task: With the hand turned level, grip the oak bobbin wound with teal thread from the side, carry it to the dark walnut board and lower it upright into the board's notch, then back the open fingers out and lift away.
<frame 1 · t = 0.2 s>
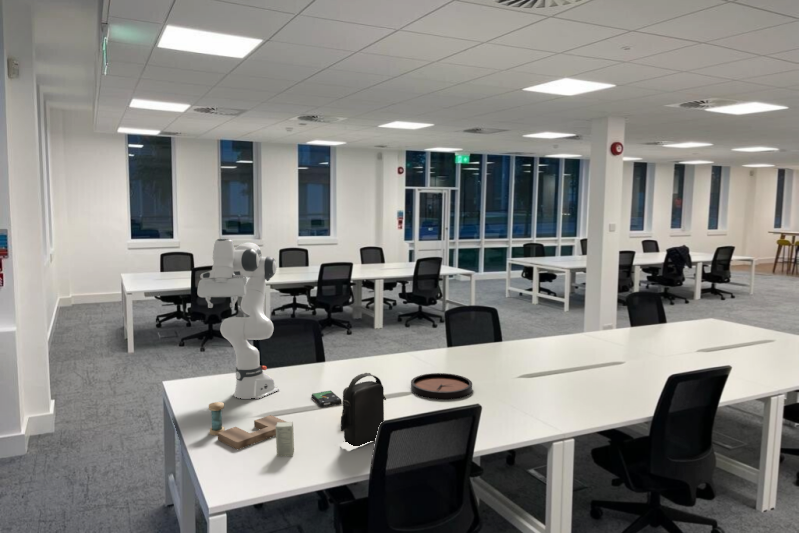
hand: (221, 307, 248), 51 cm above the table, tool tilted 20°, fingers open, 8 cm apart
disk drive: (326, 402, 284), on the table
shoulder bag: (362, 441, 238), on the table
skincare box: (285, 454, 225), on the table
notched board: (255, 434, 243), on the table
bobbin: (217, 432, 245), on the table
wall clock: (441, 390, 301), on the table
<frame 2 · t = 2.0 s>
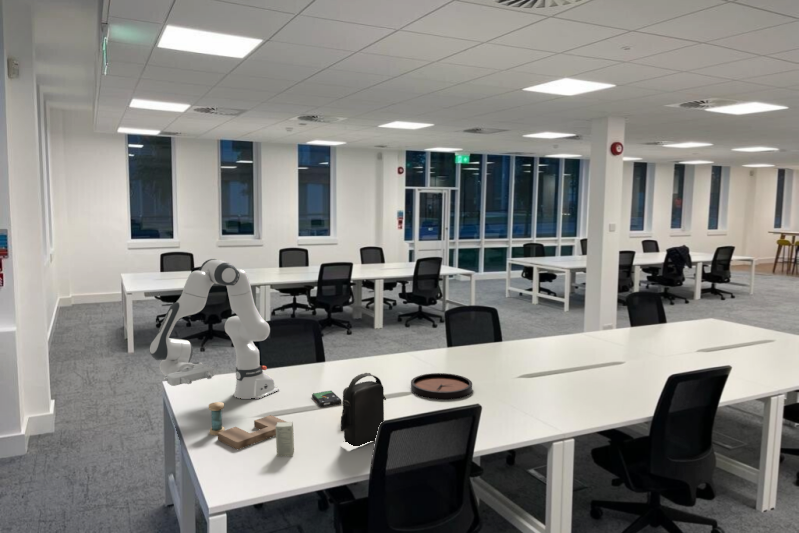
hand: (200, 379, 251), 20 cm above the table, tool horizontal, fingers open, 8 cm apart
nothing on the table moved.
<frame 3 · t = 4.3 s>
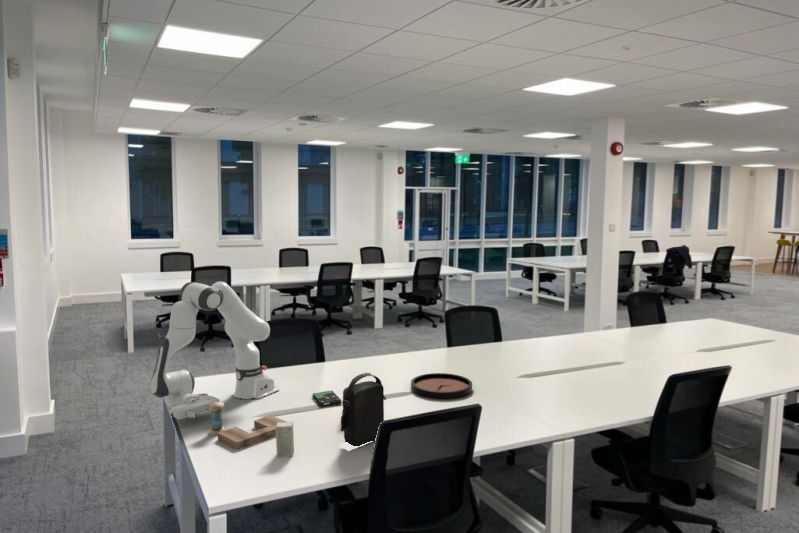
hand: (206, 412, 250), 6 cm above the table, tool horizontal, fingers open, 8 cm apart
nothing on the table moved.
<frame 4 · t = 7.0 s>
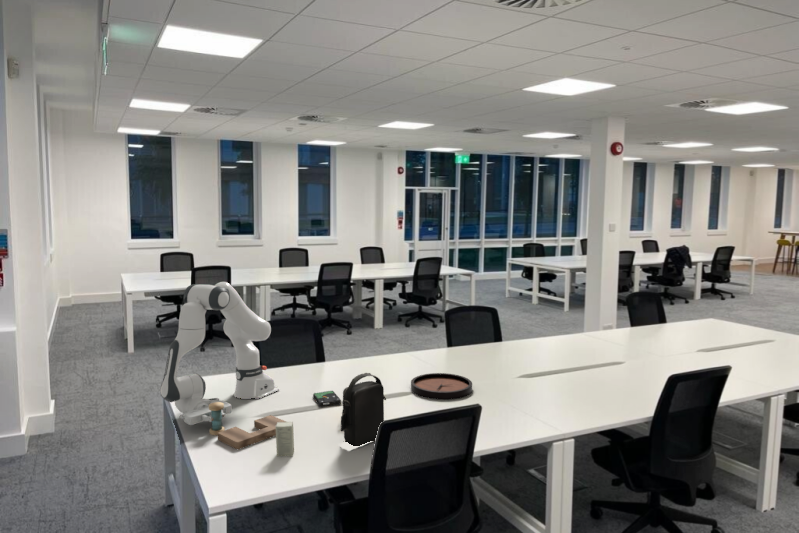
hand: (217, 417, 244), 7 cm above the table, tool horizontal, fingers closed on bobbin, 4 cm apart
bobbin: (217, 432, 245), on the table, touching gripper
everything else where it was.
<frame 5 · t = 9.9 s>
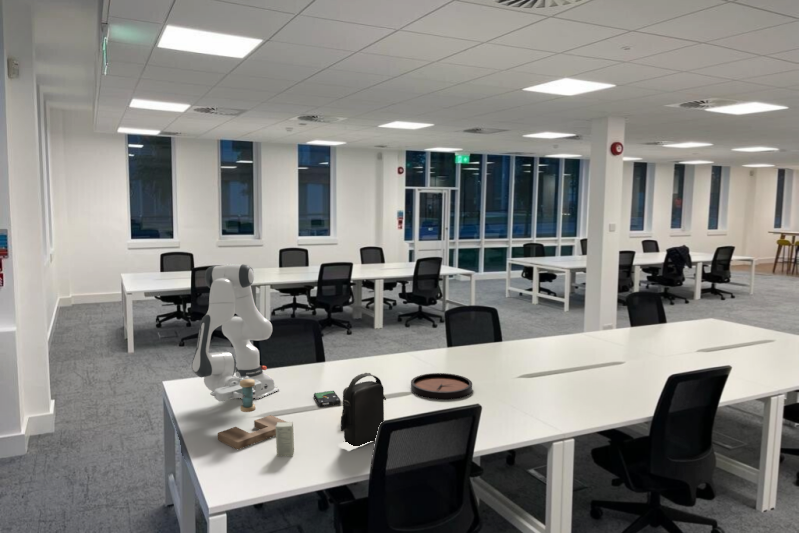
hand: (248, 394, 241), 17 cm above the table, tool horizontal, fingers closed on bobbin, 4 cm apart
bobbin: (248, 409, 243), point 10 cm above the table, touching gripper
everything else where it was.
when the fingers open (8 cm above the table, at t = 13.0 s): bobbin drops 1 cm, on the table.
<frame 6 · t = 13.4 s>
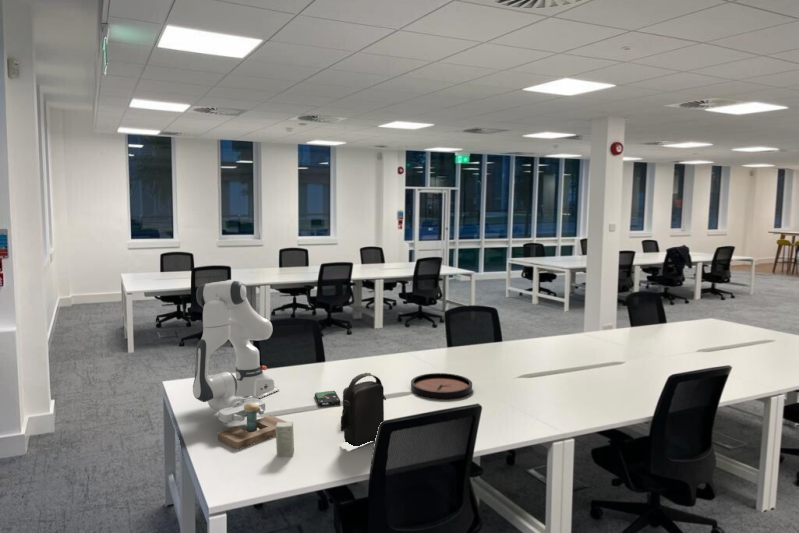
hand: (252, 415, 242), 8 cm above the table, tool horizontal, fingers open, 8 cm apart
bobbin: (252, 433, 244), on the table
everything else where it was.
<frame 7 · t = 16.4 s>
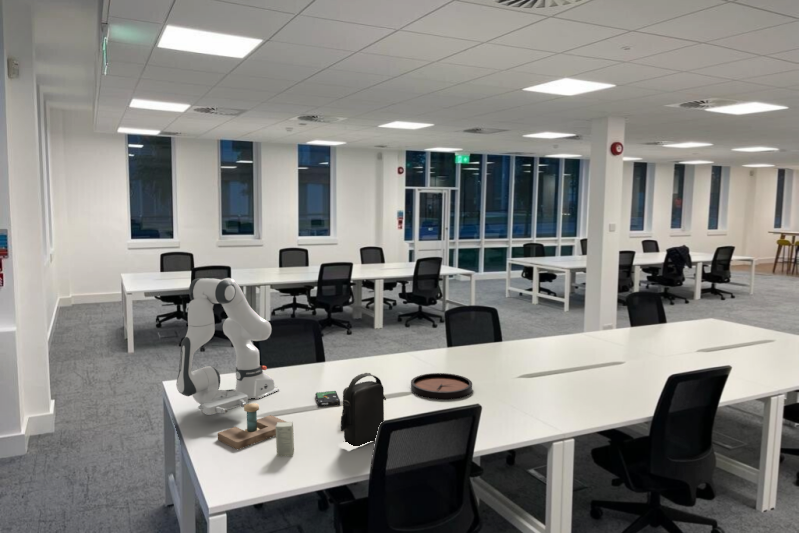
hand: (235, 408, 251), 8 cm above the table, tool horizontal, fingers open, 8 cm apart
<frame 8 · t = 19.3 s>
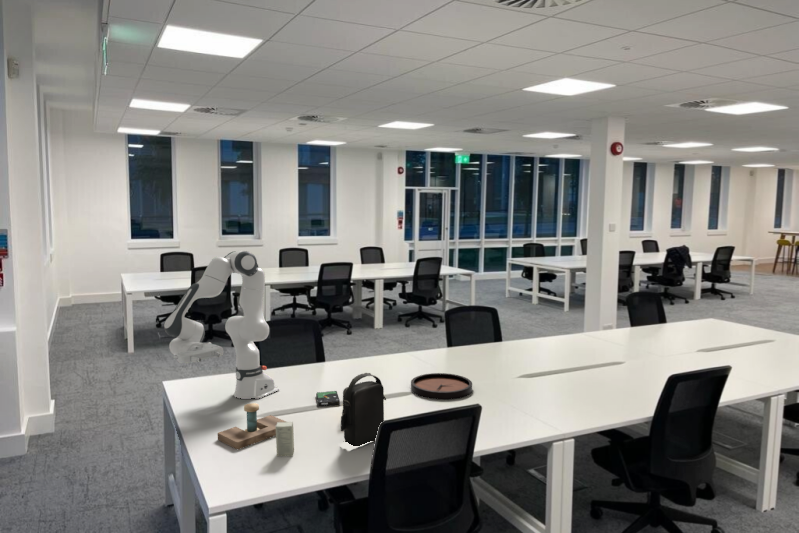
hand: (209, 357, 255), 28 cm above the table, tool horizontal, fingers open, 8 cm apart
at the end: bobbin 0.0 cm from the target spot on the notched board, point 0.0 cm above the notched board's base; bobbin tilted 0°; the gripper is holding nothing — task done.
